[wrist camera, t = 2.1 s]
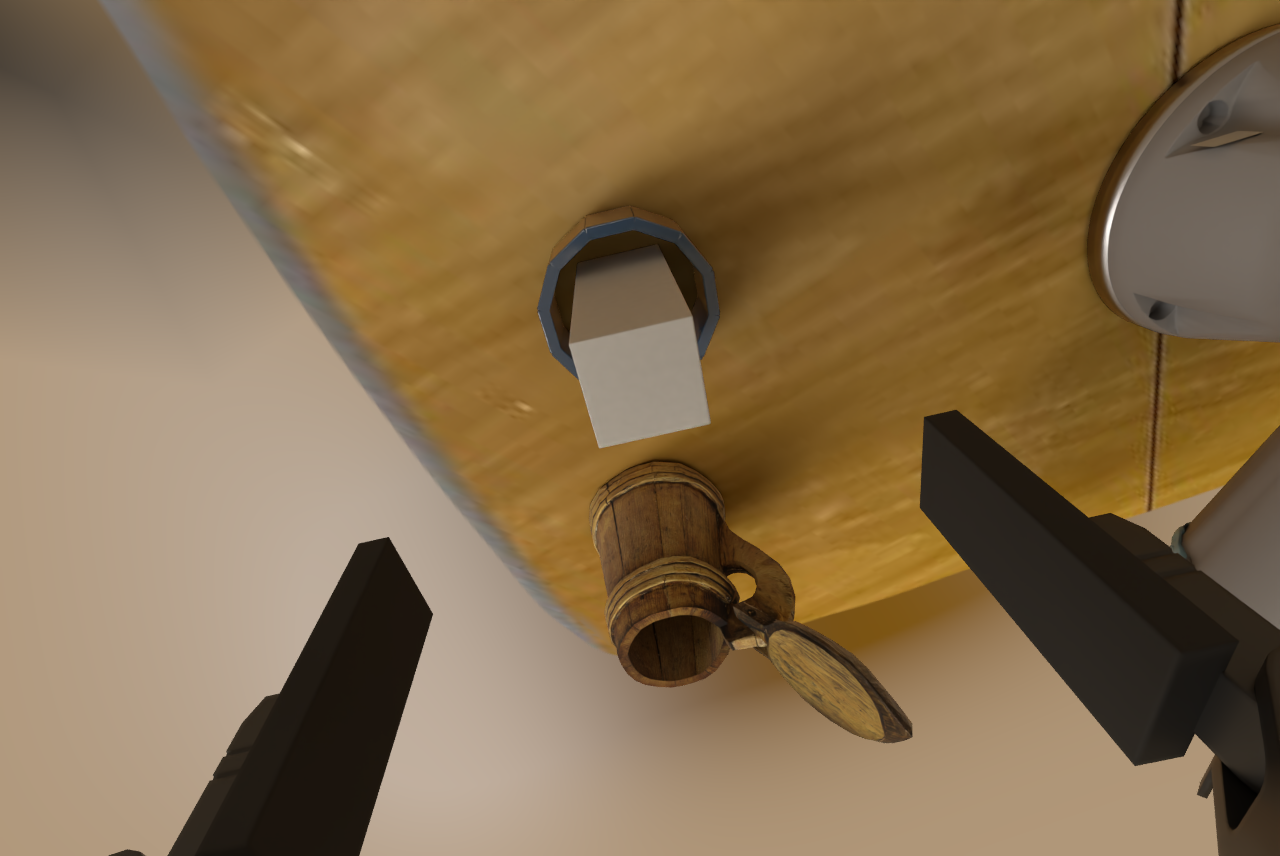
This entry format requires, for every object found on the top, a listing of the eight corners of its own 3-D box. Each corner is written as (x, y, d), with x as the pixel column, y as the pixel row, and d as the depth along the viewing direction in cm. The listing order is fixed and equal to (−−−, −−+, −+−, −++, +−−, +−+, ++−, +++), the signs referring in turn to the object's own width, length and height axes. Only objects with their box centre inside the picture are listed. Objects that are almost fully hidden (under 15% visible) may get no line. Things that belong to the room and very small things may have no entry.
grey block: (658, 243, 30) (692, 315, 19) (672, 322, 32) (711, 424, 22) (576, 262, 30) (568, 343, 20) (597, 339, 32) (599, 449, 22)
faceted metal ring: (692, 190, 29) (703, 199, 26) (716, 349, 33) (729, 373, 30) (524, 230, 29) (516, 244, 26) (569, 381, 33) (567, 409, 30)
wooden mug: (794, 527, 40) (924, 794, 24) (613, 578, 41) (626, 865, 26) (771, 423, 36) (911, 666, 20) (569, 484, 37) (553, 759, 21)
